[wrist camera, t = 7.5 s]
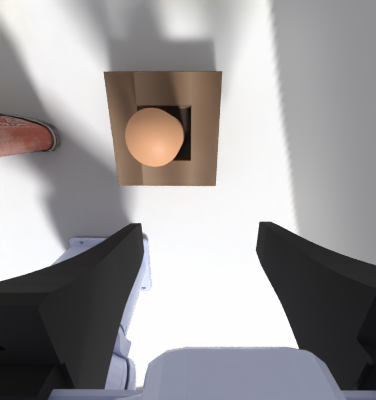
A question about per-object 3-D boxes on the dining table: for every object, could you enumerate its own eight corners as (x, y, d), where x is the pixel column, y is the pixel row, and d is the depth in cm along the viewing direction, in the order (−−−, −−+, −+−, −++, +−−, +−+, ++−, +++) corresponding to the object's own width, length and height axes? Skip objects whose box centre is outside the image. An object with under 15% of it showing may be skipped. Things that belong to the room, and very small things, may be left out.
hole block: (128, 177, 20) (118, 185, 18) (117, 80, 17) (103, 71, 14) (212, 177, 20) (215, 185, 17) (216, 80, 17) (222, 71, 14)
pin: (154, 152, 19) (130, 168, 11) (149, 117, 18) (120, 109, 10) (185, 150, 19) (182, 164, 11) (183, 114, 18) (178, 105, 10)
